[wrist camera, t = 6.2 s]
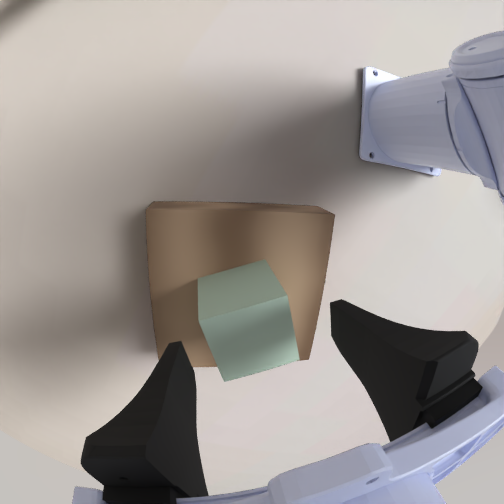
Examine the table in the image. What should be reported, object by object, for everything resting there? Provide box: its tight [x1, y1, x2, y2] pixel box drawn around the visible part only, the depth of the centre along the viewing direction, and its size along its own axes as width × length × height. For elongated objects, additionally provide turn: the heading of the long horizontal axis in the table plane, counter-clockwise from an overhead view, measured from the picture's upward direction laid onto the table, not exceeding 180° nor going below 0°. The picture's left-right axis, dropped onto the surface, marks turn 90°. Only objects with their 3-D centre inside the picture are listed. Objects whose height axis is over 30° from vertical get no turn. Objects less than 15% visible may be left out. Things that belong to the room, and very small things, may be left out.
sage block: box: [198, 259, 300, 382], centre depth 17 cm, size 4×4×5 cm
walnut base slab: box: [146, 202, 335, 367], centre depth 21 cm, size 12×12×3 cm
